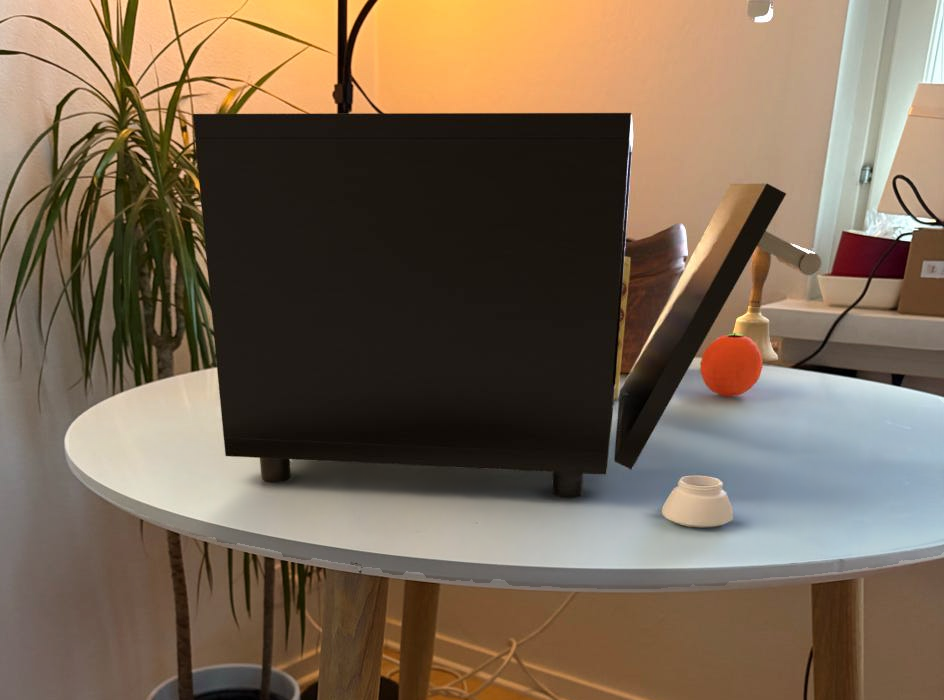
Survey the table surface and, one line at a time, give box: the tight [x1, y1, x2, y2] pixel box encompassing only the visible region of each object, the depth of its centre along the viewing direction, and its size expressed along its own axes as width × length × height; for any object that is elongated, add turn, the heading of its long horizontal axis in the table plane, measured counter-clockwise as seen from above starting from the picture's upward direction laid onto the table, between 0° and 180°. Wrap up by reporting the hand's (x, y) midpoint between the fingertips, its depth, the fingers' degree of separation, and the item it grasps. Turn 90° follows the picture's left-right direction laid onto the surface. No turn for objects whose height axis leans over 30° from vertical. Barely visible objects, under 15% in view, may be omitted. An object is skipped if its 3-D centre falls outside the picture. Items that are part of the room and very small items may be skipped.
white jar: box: [661, 475, 734, 529], centre depth 71 cm, size 5×3×5 cm
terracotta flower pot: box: [620, 223, 689, 373], centre depth 129 cm, size 18×20×18 cm
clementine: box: [700, 333, 763, 397], centre depth 114 cm, size 8×7×7 cm
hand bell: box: [732, 247, 779, 363], centre depth 136 cm, size 8×8×16 cm
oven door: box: [613, 182, 823, 471], centre depth 82 cm, size 7×28×21 cm, turn 171°
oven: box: [192, 112, 634, 499], centre depth 85 cm, size 30×30×26 cm
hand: (758, 19), depth 81 cm, fingers closed
